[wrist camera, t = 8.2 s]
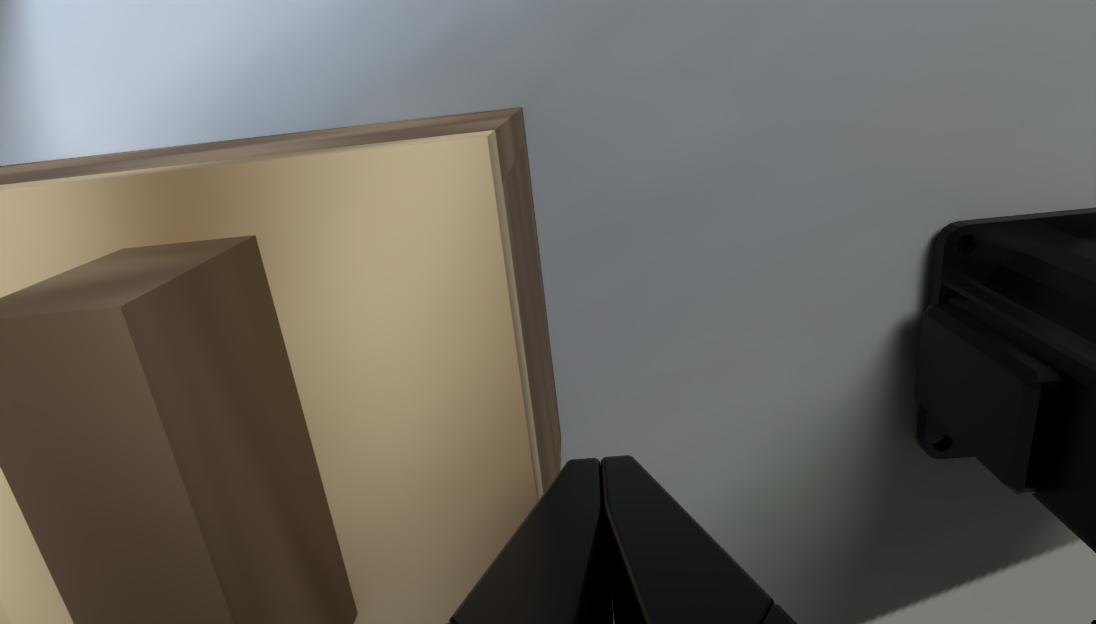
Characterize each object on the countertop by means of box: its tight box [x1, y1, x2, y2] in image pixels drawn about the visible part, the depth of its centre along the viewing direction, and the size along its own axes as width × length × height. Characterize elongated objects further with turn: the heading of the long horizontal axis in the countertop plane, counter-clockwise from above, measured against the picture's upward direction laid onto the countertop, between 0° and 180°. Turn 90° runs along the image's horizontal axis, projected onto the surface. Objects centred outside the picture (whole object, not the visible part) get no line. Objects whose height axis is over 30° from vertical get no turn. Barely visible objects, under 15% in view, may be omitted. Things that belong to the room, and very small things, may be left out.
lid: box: [0, 130, 543, 624], centre depth 10 cm, size 16×9×4 cm, turn 96°
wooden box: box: [0, 107, 561, 494], centre depth 15 cm, size 16×9×6 cm, turn 96°
